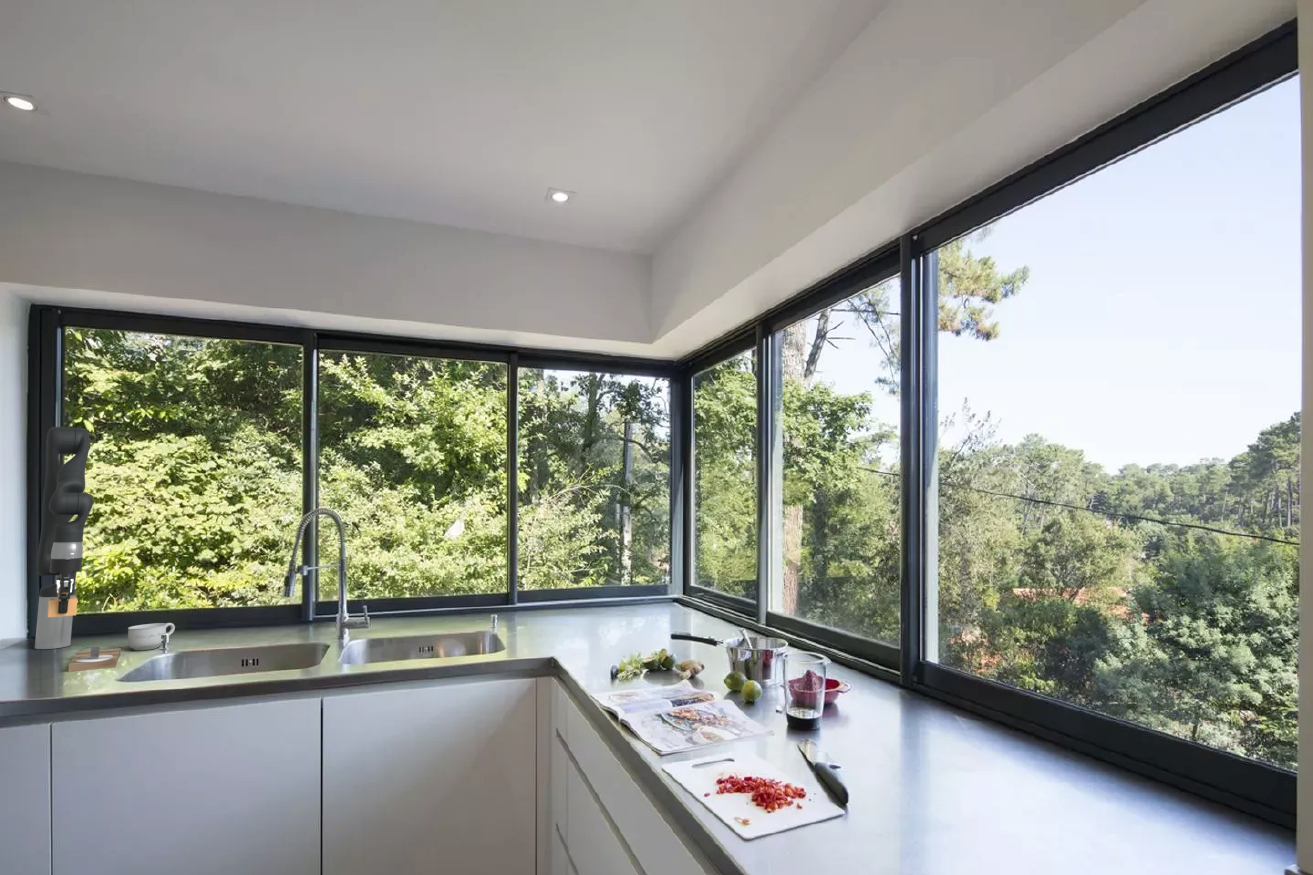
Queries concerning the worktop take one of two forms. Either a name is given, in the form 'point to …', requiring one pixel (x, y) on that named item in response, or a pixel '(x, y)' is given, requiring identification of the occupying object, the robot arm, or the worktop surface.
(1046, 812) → the worktop surface
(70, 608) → the orange block
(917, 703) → the worktop surface
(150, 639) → the teacup
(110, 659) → the shaft board
